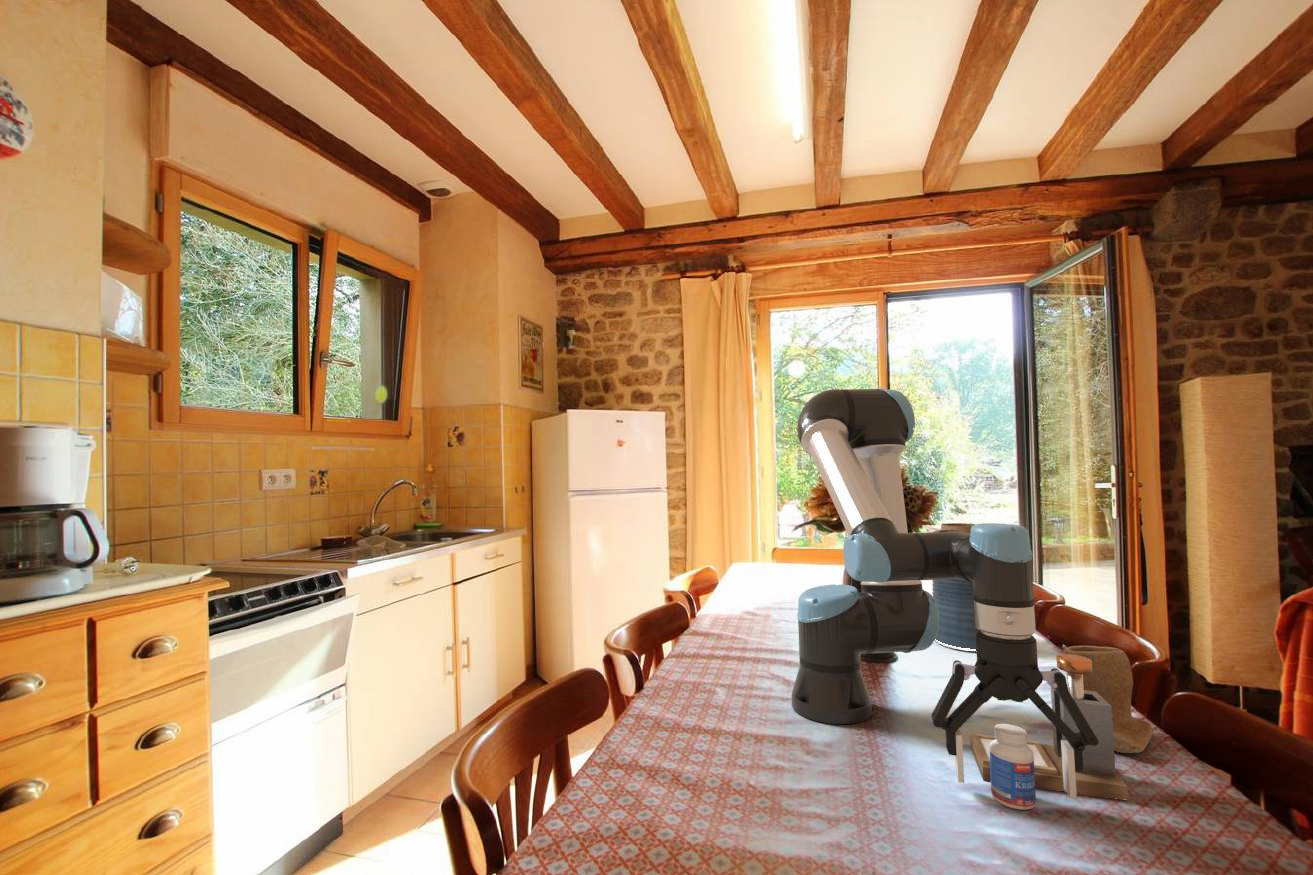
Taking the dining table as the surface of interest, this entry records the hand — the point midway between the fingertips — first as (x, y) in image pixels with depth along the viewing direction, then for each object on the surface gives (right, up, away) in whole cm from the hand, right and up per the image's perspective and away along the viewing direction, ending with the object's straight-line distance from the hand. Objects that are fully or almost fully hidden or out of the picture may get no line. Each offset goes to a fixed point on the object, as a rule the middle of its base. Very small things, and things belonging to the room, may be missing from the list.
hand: (1013, 785), depth 82 cm
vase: (+32, -6, +72) cm, 79 cm away
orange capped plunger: (+14, +4, +6) cm, 15 cm away
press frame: (+14, 0, +6) cm, 15 cm away
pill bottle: (0, -2, 0) cm, 2 cm away
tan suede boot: (+28, -3, +19) cm, 34 cm away
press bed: (+9, -2, +7) cm, 12 cm away
